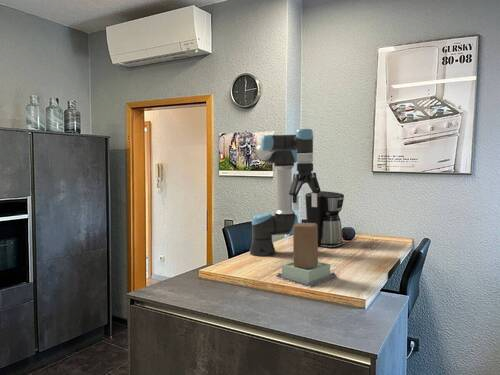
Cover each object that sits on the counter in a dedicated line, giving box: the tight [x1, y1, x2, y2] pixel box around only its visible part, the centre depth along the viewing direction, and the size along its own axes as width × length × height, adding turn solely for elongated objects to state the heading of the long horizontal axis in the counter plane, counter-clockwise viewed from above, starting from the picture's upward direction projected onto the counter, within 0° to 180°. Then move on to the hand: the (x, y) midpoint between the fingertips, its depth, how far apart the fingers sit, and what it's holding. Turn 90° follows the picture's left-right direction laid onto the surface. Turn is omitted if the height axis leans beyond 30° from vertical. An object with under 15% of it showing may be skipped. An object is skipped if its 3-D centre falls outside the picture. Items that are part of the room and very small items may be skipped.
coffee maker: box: [304, 190, 345, 249], centre depth 252 cm, size 23×32×34 cm
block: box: [292, 222, 319, 269], centre depth 184 cm, size 10×10×20 cm
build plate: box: [275, 260, 337, 287], centre depth 185 cm, size 20×20×6 cm
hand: (305, 208), depth 183 cm, fingers open, 13 cm apart
